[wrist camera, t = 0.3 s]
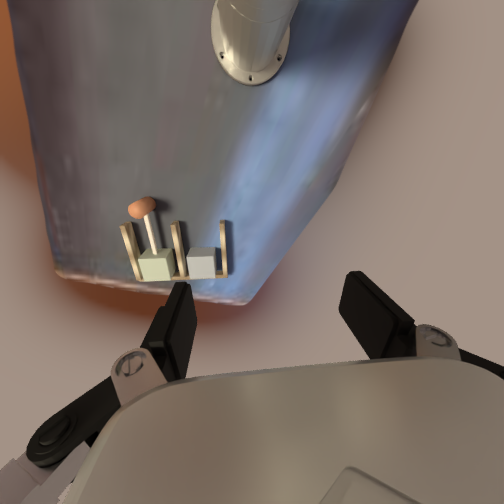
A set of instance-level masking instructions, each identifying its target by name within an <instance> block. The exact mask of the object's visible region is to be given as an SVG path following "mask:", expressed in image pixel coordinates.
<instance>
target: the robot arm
mask: <svg viewBox="0 0 504 504" xmlns="http://www.w3.org/2000/svg"><path fill="white" fill-rule="evenodd" d="M298 3H299V0H216V1H215V4H214V7H213V11H212V18H211V35H212V42H213V47H214V51H215V53H216V56H217V59H218V61H219V63H220V65H221V66H222V68H223V69H224V71H225V72H226V73H227V74H228V75H229V76H230V77H231V78H232V79H234V80H235V81H237V82H238V83H241V84H244V85H250V86H254V85H259V84H262V83H264V82H266V81H268V80H269V79H270V78H272V77H273V76H274V74H275V73H276V72H277V71H278V69H279V68H280V66H281V65H282V63H283V61H284V59H285V56H286V53H287V50H288V45H289V39H290V21H291V19H292V16H293V14H294V12H295V9H296V7H297V5H298ZM218 9H219V10H218ZM221 56H223V57H224V58H223V59H221ZM278 58H279V59H280V61H278V60H277V59H278ZM250 78H251V79H252V81H250V80H249V79H250ZM339 313H340V315H341V316H342V318H343V319H344V321H345V322H346V323H347V325H348V327H349V328H350V330H351V331H352V333H353V334H354V336H355V337H356V339H357V340H358V342H359V343H360V345H361V346H362V348H363V349H364V351H365V352H366V354H367V355H368V357H369V358H370V360H361V361H348V362H337V363H326V364H315V365H305V366H295V367H284V368H273V369H263V370H253V371H244V372H233V373H225V374H216V375H208V376H199V377H192V378H186V379H185V377H186V373H187V368H188V363H189V358H190V354H191V349H192V345H193V340H194V335H195V331H196V326H197V317H196V311H195V306H194V301H193V296H192V290H191V285H190V284H187V282H176V283H175V284H174V287H173V289H172V291H171V293H170V296H169V298H168V300H167V302H166V304H165V306H161V307H160V308H159V309H158V311H157V313H156V315H155V317H154V319H153V322H152V324H151V326H150V328H149V330H148V332H147V334H146V336H145V338H144V340H143V342H142V345H141V346H140V348H135V349H132V350H130V351H127V352H126V353H124V354H123V355H122V356H120V357H119V358H118V359H117V360H116V361H115V363H114V365H113V366H112V368H111V376H109V377H108V378H107V379H105V380H104V381H102V382H101V383H99V384H98V385H97V386H95V387H94V388H92V389H91V390H89V391H88V392H86V393H85V394H84V395H82V396H81V397H79V398H78V399H76V400H75V401H73V402H72V403H70V404H69V405H67V406H66V407H65V408H63V409H62V410H60V411H59V412H57V413H56V414H54V415H53V416H52V417H50V418H49V419H48V420H47V421H45V422H44V423H43V424H42V425H41V426H40V428H38V429H37V431H36V432H35V433H34V435H33V436H32V438H31V439H30V441H29V443H28V446H27V450H26V451H25V452H24V453H23V454H22V455H21V456H20V457H19V458H18V459H17V460H15V459H12V460H10V461H9V462H8V463H7V464H6V465H5V466H4V467H3V468H2V469H1V470H0V504H57V503H58V501H60V500H59V499H58V497H59V496H60V495H61V493H62V492H63V491H64V490H65V489H66V487H67V486H68V485H69V484H70V483H72V482H73V483H72V485H71V487H70V489H69V491H68V493H67V495H66V497H65V499H64V501H63V503H62V504H504V366H501V365H499V364H496V363H494V362H491V361H489V360H486V359H484V358H481V357H479V356H477V355H474V354H472V353H469V352H467V351H464V350H462V349H459V348H458V345H457V343H456V341H455V340H454V339H453V337H452V336H450V335H449V334H448V333H447V332H445V331H443V330H441V329H439V328H437V327H435V326H431V325H426V324H422V325H418V326H416V325H415V324H414V321H415V320H414V319H413V318H412V317H410V315H408V314H407V313H406V312H405V311H404V310H403V309H402V308H401V307H400V306H398V305H397V304H396V303H395V302H394V301H393V300H392V299H391V298H390V297H389V296H388V295H387V294H386V293H384V292H383V291H382V290H381V289H380V288H379V287H378V286H377V285H376V284H375V283H374V282H372V281H371V280H370V279H369V278H368V277H367V276H366V275H365V274H364V273H363V272H361V271H351V272H349V274H347V275H346V279H345V283H344V287H343V292H342V296H341V300H340V304H339Z"/></svg>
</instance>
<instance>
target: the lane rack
mask: <svg viewBox="0 0 504 504" xmlns="http://www.w3.org/2000/svg"><path fill="white" fill-rule="evenodd" d="M219 225H220V238H221V252H222V266H223V271H216V278H228V269H227V252H226V235H225V220H220V224H219ZM120 229H121V232H122V235H123V239H124V242H125V245H126V248H127V251H128V254H129V257H130V261H131V264H132V267H133V270H134V273H135V276H136V279H137V280H139V281H144V279H143V275H142V272H141V269H140V265H139V262H138V258H139V257H140V256H141V255H140V251H139V248H138V244H137V241H136V237H135V234H134V230H133V227H132V223H131V222H125V223H124V224H122V225H121V226H120ZM171 230H172V236H173V241H174V246H175V251H176V256H177V262H178V267H179V272H174V274H173V276H172V278H171V280H186V279H190V276H189V272H187V267H186V261H185V255H184V249H183V243H182V237H181V231H180V226H179V221H174V222H173V223H172V224H171ZM206 279H210V278H206Z"/></svg>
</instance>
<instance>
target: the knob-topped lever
mask: <svg viewBox="0 0 504 504" xmlns="http://www.w3.org/2000/svg"><path fill="white" fill-rule="evenodd" d="M155 207H156V203H155V201H154V199H152V198H151V197H144V198H142V199H140V200H138V201H136V202H134V203H132V204H131V205H130V206H129V207H128V211H129V213H130V215H131V216H132V217H134V218H137V219H140V218H143V217H144V220H145V224H146V228H147V231H148V235H149V239H150V243H151V247H152V249H146V250H145V251H144V253H143V254H142V255H141V256H140V257H139V258H138V262H139V265H140V269H141V272H142V275H143V279H144V281H166V280H171V278H172V276H173V274H174V272H175V270H176V266H175V261H174V256H173V251H172V248H165V249H157V246H156V242H155V238H154V234H153V229H152V225H151V221H150V217H149V212H151V211H152V210H154V209H155Z"/></svg>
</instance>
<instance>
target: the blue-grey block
mask: <svg viewBox="0 0 504 504" xmlns="http://www.w3.org/2000/svg"><path fill="white" fill-rule="evenodd" d="M186 258H187V264H188V270H189V276H190V279H206V278H216V271H217V263H216V251H215V247H198V248H190V250H189V253H188V255H187V257H186Z"/></svg>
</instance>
